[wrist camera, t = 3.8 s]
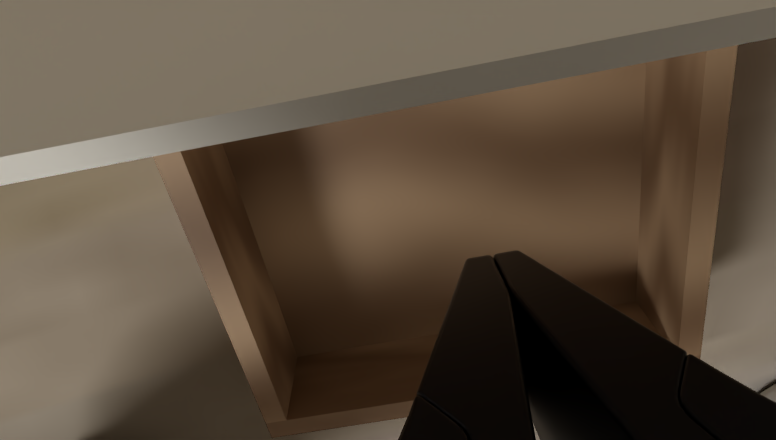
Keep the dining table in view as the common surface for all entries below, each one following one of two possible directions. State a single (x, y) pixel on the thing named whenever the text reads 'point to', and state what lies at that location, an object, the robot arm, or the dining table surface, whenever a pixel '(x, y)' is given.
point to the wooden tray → (452, 224)
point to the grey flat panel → (302, 64)
